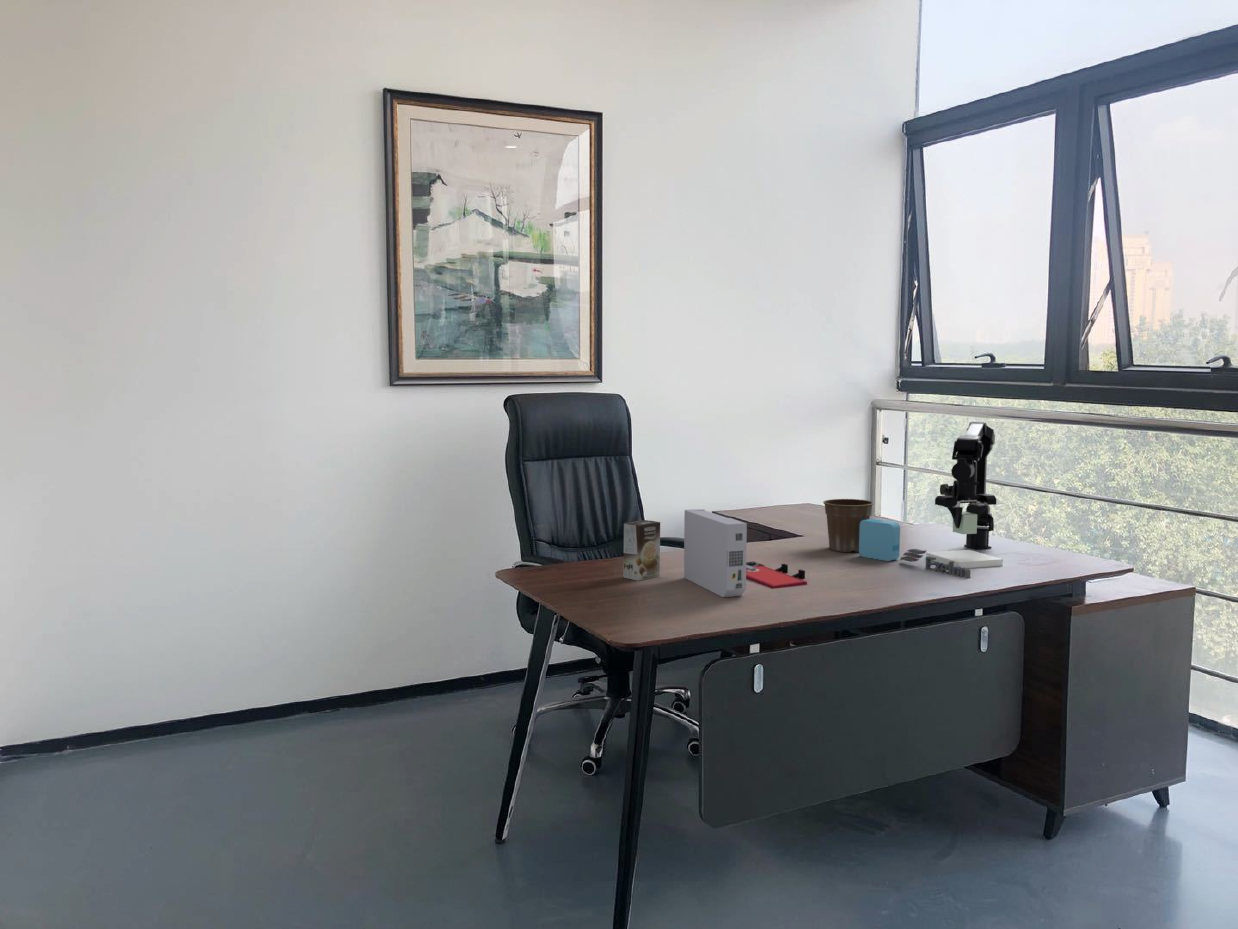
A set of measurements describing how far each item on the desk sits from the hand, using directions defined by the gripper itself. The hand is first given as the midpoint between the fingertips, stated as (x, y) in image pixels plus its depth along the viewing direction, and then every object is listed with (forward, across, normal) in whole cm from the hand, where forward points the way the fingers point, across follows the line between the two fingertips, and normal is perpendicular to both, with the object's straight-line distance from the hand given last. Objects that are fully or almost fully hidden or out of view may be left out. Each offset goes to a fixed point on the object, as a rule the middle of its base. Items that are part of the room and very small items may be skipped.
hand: (964, 527), depth 288 cm
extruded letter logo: (+11, +16, +7) cm, 21 cm away
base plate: (+11, 0, 0) cm, 11 cm away
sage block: (+2, 0, 0) cm, 2 cm away
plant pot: (+11, +24, -29) cm, 39 cm away
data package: (+11, +22, -13) cm, 28 cm away
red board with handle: (+12, +67, -1) cm, 68 cm away
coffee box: (+11, +103, -9) cm, 104 cm away
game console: (+11, +88, +9) cm, 89 cm away
